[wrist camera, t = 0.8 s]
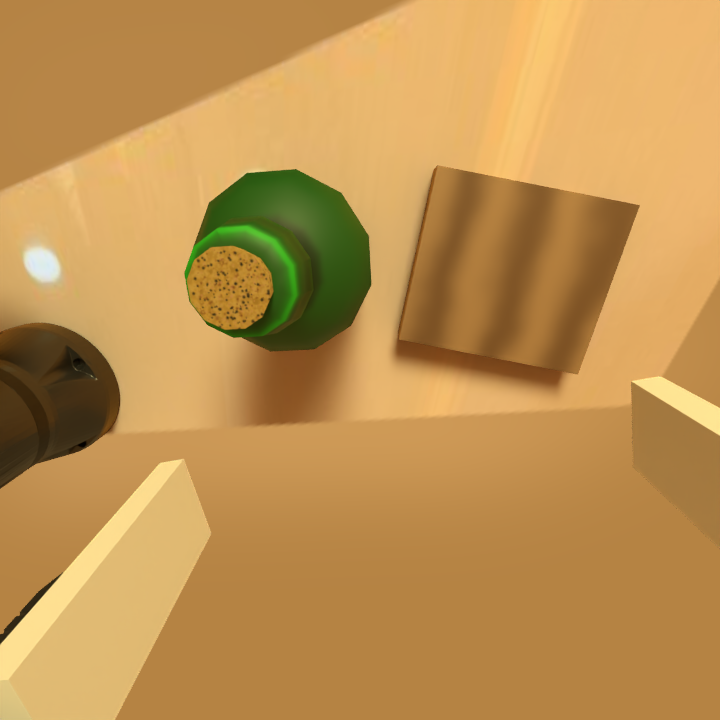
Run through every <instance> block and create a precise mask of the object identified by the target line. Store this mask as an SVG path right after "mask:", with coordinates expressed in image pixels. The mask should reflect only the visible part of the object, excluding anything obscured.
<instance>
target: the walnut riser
mask: <svg viewBox="0 0 720 720" xmlns="http://www.w3.org/2000/svg"><path fill="white" fill-rule="evenodd" d="M639 206H640V205H635V204H630V203H625V202H620V201H615V200H610V199H605V198H600V197H595V196H590V195H585V194H580V193H574V192H569V191H564V190H559V189H554V188H549V187H544V186H539V185H534V184H529V183H524V182H519V181H514V180H509V179H503V178H498V177H493V176H488V175H483V174H478V173H473V172H468V171H463V170H458V169H453V168H448V167H443V166H437V167H436V168H435V169H434V172H433V176H432V181H431V185H430V190H429V194H428V199H427V203H426V208H425V213H424V217H423V222H422V226H421V231H420V235H419V240H418V244H417V249H416V253H415V258H414V262H413V267H412V271H411V276H410V280H409V285H408V290H407V294H406V299H405V303H404V308H403V312H402V317H401V321H400V326H399V330H398V336H399V340H404V341H409V342H414V343H419V344H424V345H429V346H434V347H440V348H445V349H450V350H455V351H460V352H465V353H470V354H475V355H481V356H486V357H491V358H496V359H501V360H506V361H511V362H517V363H522V364H527V365H532V366H537V367H542V368H547V369H552V370H558V371H563V372H568V373H573V374H578V373H579V370H580V367H581V364H582V362H583V359H584V356H585V353H586V351H587V348H588V345H589V342H590V340H591V337H592V334H593V332H594V329H595V326H596V323H597V321H598V318H599V315H600V312H601V310H602V307H603V304H604V302H605V299H606V296H607V293H608V291H609V288H610V285H611V282H612V280H613V277H614V274H615V271H616V269H617V266H618V263H619V261H620V258H621V255H622V252H623V250H624V247H625V244H626V241H627V239H628V236H629V233H630V230H631V228H632V225H633V222H634V220H635V217H636V214H637V211H638V209H639Z"/></svg>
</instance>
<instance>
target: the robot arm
mask: <svg viewBox="0 0 720 720" xmlns="http://www.w3.org/2000/svg"><path fill="white" fill-rule="evenodd" d="M631 392H632V439H633V441H632V444H633V468H634V469H636V470H637V471H638V472H639V473H640V474H641V475H642V476H643V477H644V478H645V479H646V480H647V481H648V482H649V483H650V484H651V485H652V486H654V487H655V488H656V489H657V490H658V491H659V492H660V493H661V494H662V495H663V496H664V497H665V498H666V499H667V500H669V502H671V503H672V504H673V505H674V506H675V507H676V508H677V509H678V510H679V511H680V512H681V513H682V514H683V515H684V516H685V517H687V518H688V519H689V520H690V521H691V522H692V523H693V524H694V525H695V526H696V527H697V528H698V529H699V530H700V531H701V532H702V533H703V534H705V535H706V536H707V537H708V538H709V539H710V540H711V541H712V542H713V543H714V544H715V545H716V546H717V547H718V548H719V549H720V408H718V407H716V406H715V405H713V404H711V403H709V402H707V401H705V400H703V399H701V398H700V397H698V396H696V395H694V394H692V393H690V392H688V391H687V390H685V389H683V388H681V387H679V386H677V385H675V384H674V383H672V382H670V381H668V380H666V379H664V378H662V377H661V376H659V377H653V378H647V379H641V380H636V381H631ZM119 401H120V399H119V389H118V384H117V381H116V378H115V375H114V373H113V371H112V369H111V367H110V365H109V363H108V362H107V360H106V359H105V358H104V356H103V355H102V354H101V353H100V352H99V350H98V349H97V348H96V347H95V346H93V345H92V344H91V343H90V342H89V341H88V340H86V339H85V338H83V337H82V336H80V335H79V334H77V333H75V332H73V331H71V330H69V329H67V328H64V327H61V326H58V325H54V324H48V323H30V324H25V325H21V326H17V327H14V328H10V329H7V330H4V331H2V332H0V488H2V487H3V486H5V485H6V484H7V483H9V482H10V481H12V480H13V479H15V478H16V477H17V476H19V475H20V474H22V473H23V472H24V471H26V470H27V469H29V468H30V467H32V466H33V465H35V464H37V463H41V462H44V461H48V460H51V459H54V458H58V457H62V456H65V455H69V454H72V453H75V452H78V451H81V450H83V449H84V448H86V447H88V446H90V445H91V444H93V443H94V442H95V441H96V440H98V439H99V438H100V437H102V436H103V435H104V434H105V433H106V432H107V431H108V430H109V429H110V428H111V426H112V425H113V423H114V421H115V419H116V417H117V414H118V410H119ZM210 535H211V531H210V529H209V526H208V523H207V520H206V517H205V515H204V512H203V509H202V507H201V504H200V501H199V499H198V496H197V493H196V491H195V488H194V485H193V482H192V480H191V477H190V474H189V471H188V469H187V466H186V463H185V461H184V459H181V460H175V461H169V462H163V463H160V464H159V465H158V466H157V467H156V468H155V469H154V471H153V472H152V473H151V474H150V475H149V476H148V477H147V479H146V480H145V481H144V482H143V483H142V484H141V485H140V487H139V488H138V489H137V490H136V491H135V492H134V493H133V494H132V496H131V497H130V498H129V499H128V500H127V501H126V502H125V504H124V505H123V506H122V507H121V508H120V509H119V510H118V512H117V513H116V514H115V515H114V516H113V517H112V518H111V519H110V521H109V522H108V523H107V524H106V525H105V526H104V527H103V529H102V530H101V531H100V532H99V533H98V534H97V535H96V537H95V538H94V539H93V540H92V541H91V542H90V543H89V545H88V546H87V547H86V548H85V549H84V550H83V551H82V552H81V554H80V555H79V556H78V557H77V558H76V559H75V560H74V561H73V563H72V564H71V565H70V566H69V567H68V568H67V570H66V571H65V572H63V573H62V574H60V575H59V576H58V577H56V578H55V579H54V580H53V581H51V582H50V583H49V584H48V585H46V586H45V587H44V588H42V589H41V590H40V591H39V592H38V593H37V594H36V595H35V596H34V597H33V598H32V600H31V601H30V602H29V603H28V604H27V605H26V606H25V607H24V608H23V609H22V611H21V612H20V616H16V617H15V618H14V620H13V621H12V622H11V623H10V624H9V625H8V626H7V627H6V628H5V629H4V633H3V634H0V720H115V718H116V716H117V714H118V712H119V711H120V709H121V707H122V705H123V703H124V701H125V699H126V697H127V695H128V693H129V691H130V689H131V687H132V686H133V684H134V682H135V680H136V678H137V676H138V674H139V672H140V670H141V668H142V666H143V664H144V662H145V660H146V659H147V657H148V655H149V653H150V651H151V649H152V647H153V645H154V643H155V641H156V639H157V637H158V635H159V633H160V631H161V629H162V628H163V626H164V624H165V622H166V620H167V618H168V616H169V614H170V612H171V610H172V608H173V606H174V604H175V602H176V601H177V598H178V597H179V595H180V593H181V591H182V589H183V587H184V585H185V583H186V581H187V579H188V577H189V575H190V574H191V572H192V570H193V568H194V566H195V564H196V562H197V560H198V558H199V556H200V554H201V552H202V550H203V548H204V546H205V545H206V543H207V541H208V538H209V537H210Z"/></svg>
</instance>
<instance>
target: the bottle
mask: <svg viewBox="0 0 720 720" xmlns="http://www.w3.org/2000/svg"><path fill="white" fill-rule="evenodd" d="M184 274H185V279H186V285H187V290H188V295H189V301H190V303H191V304H192V306H193V307H194V308H195V309H196V311H197V312H198V313H199V315H200V316H201V317H202V318H203V320H204V321H205V322H206V324H207V325H208V326H210V327H212V328H215V329H217V330H219V331H221V332H223V333H225V334H227V335H229V336H231V337H233V338H236V337H242V338H244V339H246V340H248V341H250V342H252V343H254V344H256V345H258V346H260V347H263V348H265V349H267V350H269V351H288V350H309V349H315V348H317V347H318V346H320V345H322V344H323V343H325V342H326V341H328V340H329V339H331V338H332V337H334V336H336V335H337V334H339V333H340V332H342V331H343V330H345V329H346V328H348V327H349V326H351V324H352V322H353V320H354V318H355V316H356V314H357V312H358V310H359V308H360V306H361V304H362V302H363V300H364V298H365V296H366V294H367V292H368V291H369V289H370V287H371V269H370V251H369V236H368V234H367V233H366V231H365V229H364V228H363V226H362V225H361V223H360V222H359V220H358V218H357V217H356V215H355V214H354V212H353V211H352V209H351V207H350V206H349V204H348V203H347V201H346V200H345V198H344V196H343V195H342V193H340V192H339V191H337V190H335V189H333V188H331V187H329V186H327V185H325V184H323V183H321V182H319V181H317V180H316V179H314V178H312V177H310V176H308V175H306V174H304V173H302V172H300V171H298V170H296V169H294V170H281V171H268V172H255V173H247V174H245V175H244V176H243V177H241V178H240V179H239V180H238V181H236V182H235V183H234V184H232V185H231V186H230V187H229V188H227V189H226V190H225V191H224V192H222V193H221V194H220V195H218V196H217V197H216V198H215V199H213V200H212V201H211V202H209V205H208V208H207V210H206V213H205V216H204V219H203V222H202V224H201V227H200V230H199V233H198V236H197V239H196V241H195V244H194V247H193V250H192V253H191V256H190V259H189V261H188V264H187V267H186V270H185V273H184Z"/></svg>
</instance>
